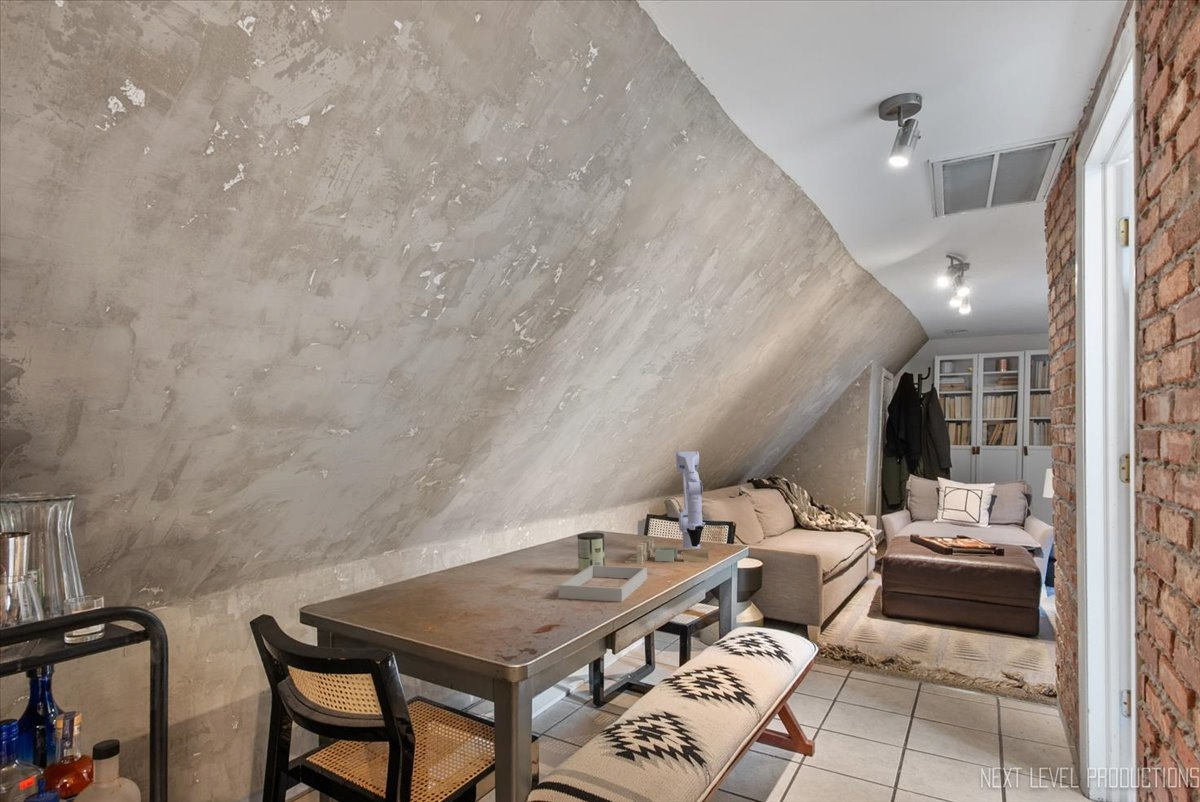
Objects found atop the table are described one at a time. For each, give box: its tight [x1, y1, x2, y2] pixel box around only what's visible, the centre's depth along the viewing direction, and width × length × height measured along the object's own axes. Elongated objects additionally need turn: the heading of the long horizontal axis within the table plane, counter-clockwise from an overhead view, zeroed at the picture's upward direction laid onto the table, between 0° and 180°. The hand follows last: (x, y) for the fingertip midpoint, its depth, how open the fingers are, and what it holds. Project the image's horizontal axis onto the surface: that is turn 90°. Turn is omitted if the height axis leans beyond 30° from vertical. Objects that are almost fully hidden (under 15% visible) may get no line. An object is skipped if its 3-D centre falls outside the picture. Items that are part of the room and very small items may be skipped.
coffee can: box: [576, 532, 606, 573], centre depth 240 cm, size 10×10×14 cm
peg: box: [682, 547, 710, 563], centre depth 255 cm, size 4×10×5 cm, turn 79°
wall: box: [624, 537, 655, 564], centre depth 262 cm, size 20×7×7 cm, turn 162°
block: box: [654, 546, 679, 563], centre depth 259 cm, size 9×8×4 cm
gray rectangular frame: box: [558, 565, 648, 603], centre depth 213 cm, size 32×21×4 cm, turn 162°
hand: (695, 545), depth 255 cm, fingers open, 4 cm apart
